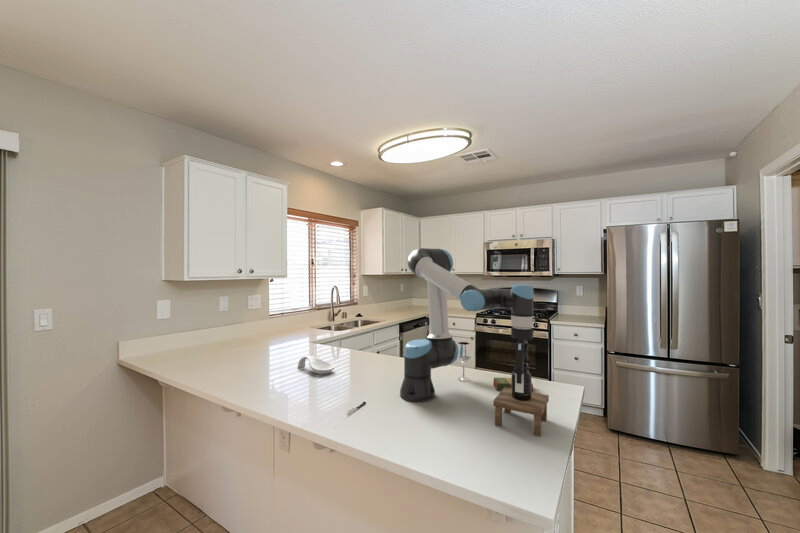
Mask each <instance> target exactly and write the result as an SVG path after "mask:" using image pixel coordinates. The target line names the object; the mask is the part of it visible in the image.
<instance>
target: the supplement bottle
mask: <svg viewBox="0 0 800 533" xmlns="http://www.w3.org/2000/svg"><path fill="white" fill-rule="evenodd" d="M527 364H528V363H527ZM527 364H525V363H524V367H523V373H524V393H520V392H515V373H513V371H512V372H511V378H512V397H513V398H514V399H516V400H520V401H528V400H530V399H531V383H532V373H530V372H529V369H530V368H529V364H528V365H527ZM513 365H514V366H513V369H514V370H515V363H514V364H513ZM518 370H521V369H518Z"/></svg>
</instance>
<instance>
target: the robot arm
mask: <svg viewBox="0 0 800 533" xmlns="http://www.w3.org/2000/svg"><path fill="white" fill-rule="evenodd" d="M407 266H408V269H409V270H410V272H411V273H413V274H414V275H415V276H417V277H418V278H423V279H424V280H425V281H426V282H427V283H426V284H427V297H428V298H427V299H428V300H427V302H428V315H429V316H428V318H429V320H428V321H429V334H428V335H427V336H426V338H425V339H424V338H421V339H413V340H410V341H408V342H407V343H406V344H405V346H404V352H403V355H404V357H403V358H404V359H403V360H404V364H403V365H404V366H403V368H404V369H403V370H404V371H403V372H404V373H403V374H404V375H403V379H402V380H403V381H402V383H401V386H400V390H399V395H400V397H401V398H402V399H403V400H406V401H409V402H416V403H417V402H418V403H422V402H428V401H431V400H433V399H435V396H436V390H435V387H434V384H433V380H432V370H433V369H437V368H440V367H448V366H450V365H451V364H454V363H455V361H456V360H458V359H457V357H458V352H459V351H458V343H457V341H455V340H454V339H453V335H452V334H451V333H450V332H449V312H448V299H447V298H448V297H447V294H449V295H451V296H452V297H453V298H455V299H456V300H458V301H459V302H460V305H461V306H462V308H463V310H464V311H468V312H479V311H486V310H497V309H501V310H502V309H504V310H511V313H510V314H511V316H510V325H511V329H510V335H511V338H512V339H514V340H515V339H516V340H517V341H516V343H515V358H514V359H515V361H514V364H515V370H512V372H513V373H515V392H520V393H524V373H523V367H524V363H525V364H527V365H528V366H529V364H530V363H531V360H530V359H529V343H528V341H529V340H530V341H531V340H533V339H534V329H533V327H534V322H536V319H535V318H534V298H535V296H534V287H533V285H531V284H512V285H511V288H510V289H506V288H498V287H491V288H490V287H489V288H486V289H485V288H484V289H480V288H478V287H477V286H475V285H473V284H471V283H469V282H468V281H466V280H465V279H463V278H461V277H459V276H457V275H456V274H454V273H453V272H451V271H452V269H453V267H454V259H453V257H452V255H451V253H450V252H449V251H448V250H446V249H442V248H441V249H440V248H427V247H426V248H425V247H418V248H416V249H413V251H411V252H410V254H409V255H408V257H407ZM518 369H521V370H518Z"/></svg>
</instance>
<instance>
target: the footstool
mask: <svg viewBox="0 0 800 533" xmlns="http://www.w3.org/2000/svg"><path fill="white" fill-rule="evenodd" d="M549 401H550V400H549V394H546V393H545V394H544V393H539V392H534V391H533V392H531V399H530V400H528V401H520V400H516V399H514V398H513V397H512V388H507V387H504V389H503V390H502V391H499V392H498V394H497V395H496V396H495V398H494V399H493V401H492V402H493V405H492V406H493V407H494V426H495V427H499V428H501V427H502V425H503V413H505V414H511V412H512V411H516V412H519V413H522V414H523V413H524V414H528V415H529V414H530V415H533V436H536V437H541V435H542V422H547V418H548V415H547V414H548V404H549V403H548V402H549ZM503 410H504V411H503Z"/></svg>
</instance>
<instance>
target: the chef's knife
mask: <svg viewBox="0 0 800 533" xmlns="http://www.w3.org/2000/svg"><path fill="white" fill-rule="evenodd" d="M364 405H366V401H363V402H362V403H361V404H360V405H358V406H356V407H353V408H352V409H351V408H350V409H351V410H350V409H349V410H348V411H349V412H348V411H347V412H348V413H347V412H346V413H347V416H348V415H350V414H351V415H353V414H354V413H355V412H357V410H360V408H362V407H363V406H364ZM353 412H354V413H353ZM351 415H350V416H351ZM348 417H349V416H348Z"/></svg>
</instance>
